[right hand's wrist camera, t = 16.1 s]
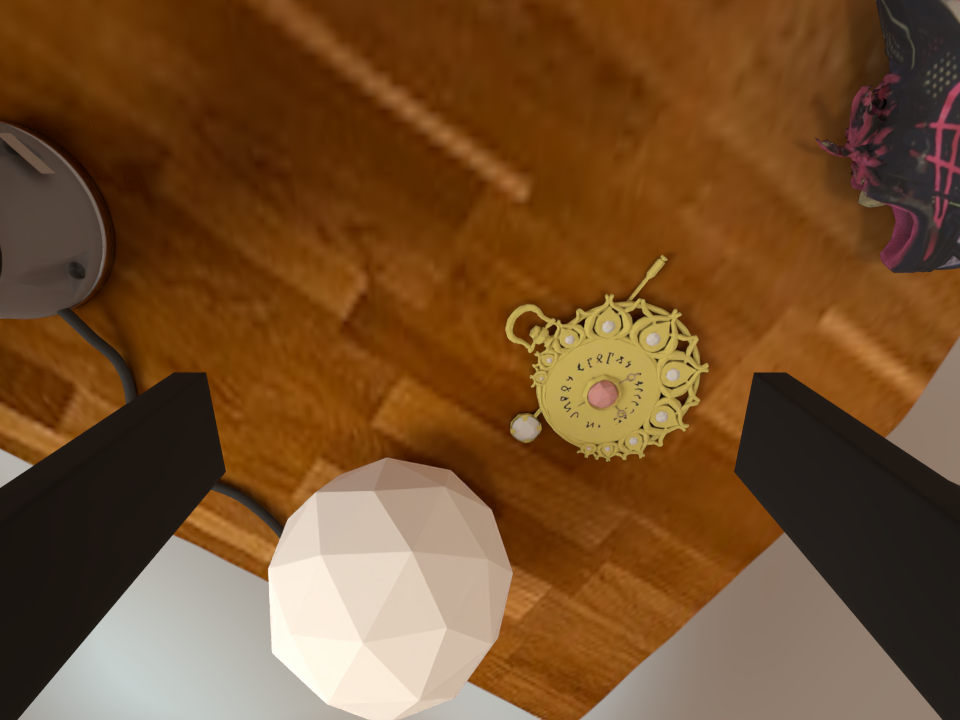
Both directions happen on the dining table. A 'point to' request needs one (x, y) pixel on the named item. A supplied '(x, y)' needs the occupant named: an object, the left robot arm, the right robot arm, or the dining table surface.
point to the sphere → (388, 589)
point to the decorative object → (610, 376)
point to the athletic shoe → (912, 135)
